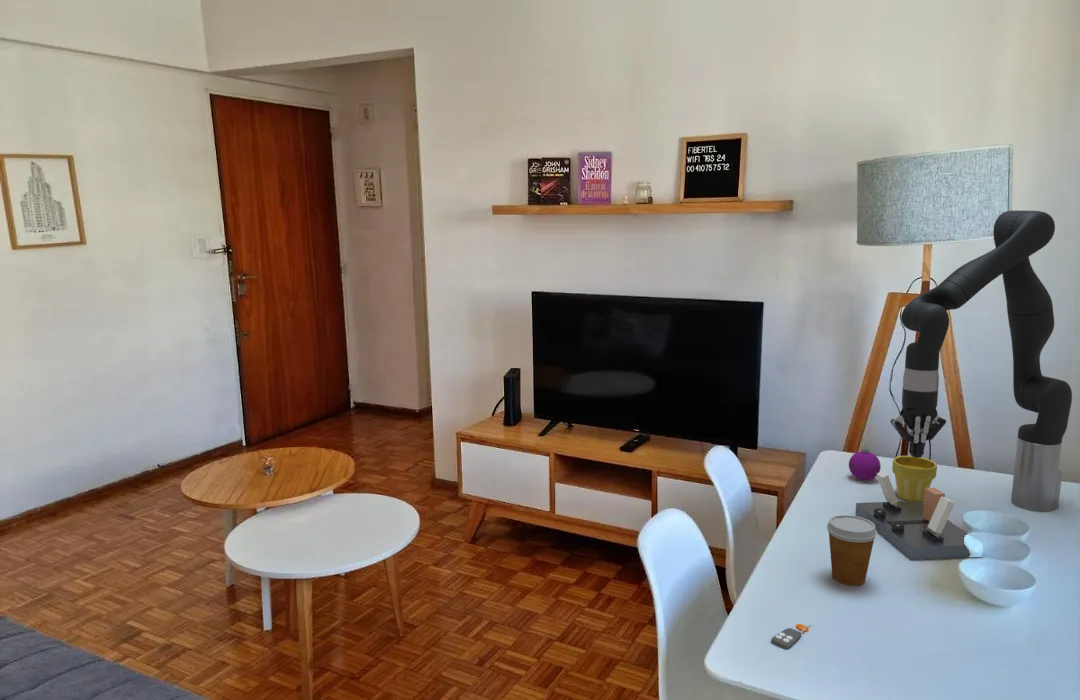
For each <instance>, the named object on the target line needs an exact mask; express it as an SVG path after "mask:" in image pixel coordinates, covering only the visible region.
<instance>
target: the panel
mask: <svg viewBox="0 0 1080 700" xmlns="http://www.w3.org/2000/svg"><path fill="white" fill-rule="evenodd" d="M896 504H897V505H898V507H897V508H896V507H894V506H893V505H891V504H890V503H889V502H887V501H873V502H871V501H870V502H856V503H855V512H854V513H855V514H856V515H855V516H858V517H862V518H865V519H867V520H869V521H871V522H872V523H874V525H875V529H876V531H877V534H879V536H881V537H882V538H883V539H884V540H886V541H887V542H889V544H891V545H892V546H893V547H894V548H895V549H897V550H898V551H899V552H900V553H901V554H903V555H904V556H905V558H906V557H907V558H908V559H909V560H910V561H922V560H923V561H926V560H948V559H949V560H950V559H968V558H967V557H969V556H970V553H969V550H968V549H967V547H966V546H965V544H964V537H965V535H967V534H969V533H968V532H966V531H965V530H964V529H962V528H960V527H959V526H958V525H956V524H955V523H953V522H951V521H950V520H947V522H946V524H945V526H944V528H943V531H942V533H941V534H939V533H938V534H939V535H940V537H939V538H937V537H936V536H934V535H933V534H932V533H930V532H929V531H927V527H928V525H929V521H928V520H927V519H925V518H924V517H922V516H923V504H924V502H922V501H921V502H920V501H907V500H903V501H902V500H897V503H896Z"/></svg>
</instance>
